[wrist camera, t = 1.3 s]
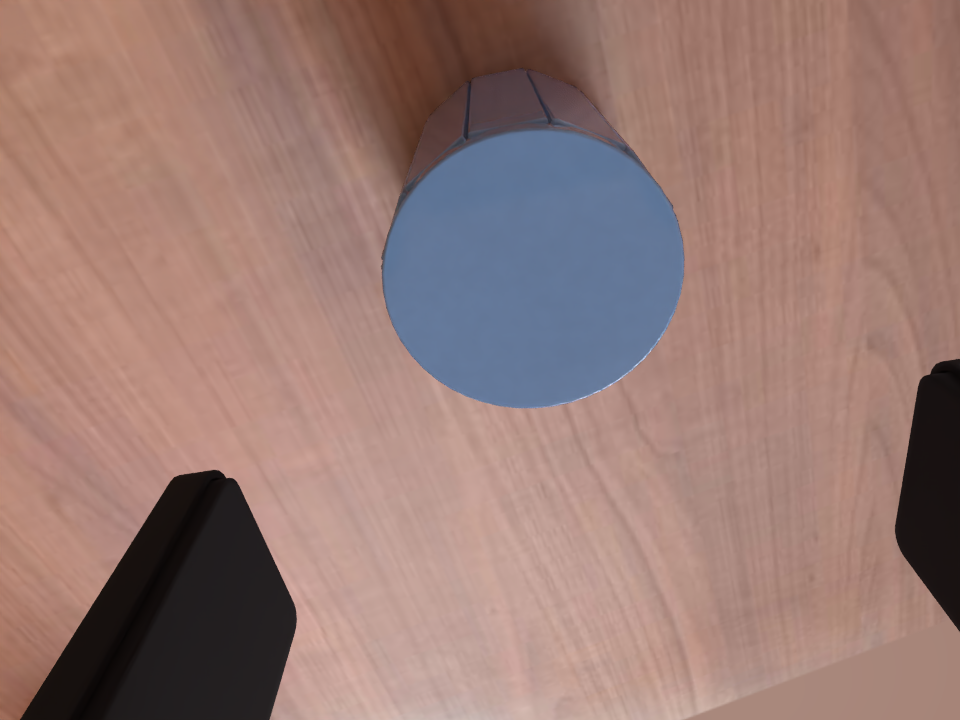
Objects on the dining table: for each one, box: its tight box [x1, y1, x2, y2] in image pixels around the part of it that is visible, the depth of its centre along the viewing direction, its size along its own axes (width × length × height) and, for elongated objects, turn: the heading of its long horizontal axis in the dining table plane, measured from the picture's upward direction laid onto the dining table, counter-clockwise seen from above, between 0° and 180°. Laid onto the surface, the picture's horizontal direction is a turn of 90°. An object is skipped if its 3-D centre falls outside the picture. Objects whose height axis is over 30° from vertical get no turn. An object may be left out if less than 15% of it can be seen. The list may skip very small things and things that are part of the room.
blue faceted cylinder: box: [381, 68, 684, 408], centre depth 19 cm, size 7×7×9 cm
